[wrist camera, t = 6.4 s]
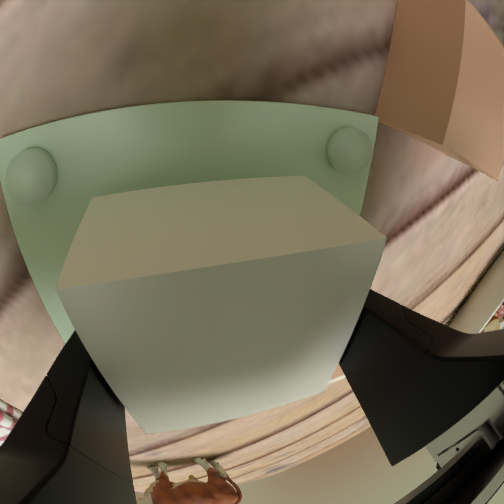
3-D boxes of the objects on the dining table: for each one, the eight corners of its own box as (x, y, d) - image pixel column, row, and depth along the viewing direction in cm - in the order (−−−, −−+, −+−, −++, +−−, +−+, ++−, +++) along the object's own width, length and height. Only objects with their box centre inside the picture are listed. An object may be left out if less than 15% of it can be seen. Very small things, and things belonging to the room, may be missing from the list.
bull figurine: (115, 459, 21) (128, 523, 15) (229, 451, 27) (251, 508, 20) (120, 467, 23) (132, 524, 17) (222, 460, 29) (241, 512, 22)
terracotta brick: (463, 59, 9) (519, 73, 6) (443, 153, 13) (497, 181, 10) (394, -1, 7) (465, -4, 4) (369, 119, 10) (442, 145, 7)
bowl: (513, 282, 40) (535, 304, 33) (423, 382, 44) (443, 409, 38) (536, 182, 21) (575, 209, 15) (408, 343, 26) (448, 394, 20)
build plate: (369, 114, 10) (389, 119, 9) (325, 311, 16) (335, 326, 15) (1, 137, 6) (-16, 146, 5) (78, 354, 12) (77, 373, 11)
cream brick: (304, 175, 9) (387, 238, 6) (283, 318, 12) (324, 391, 9) (92, 197, 7) (55, 289, 4) (136, 345, 10) (146, 433, 7)
